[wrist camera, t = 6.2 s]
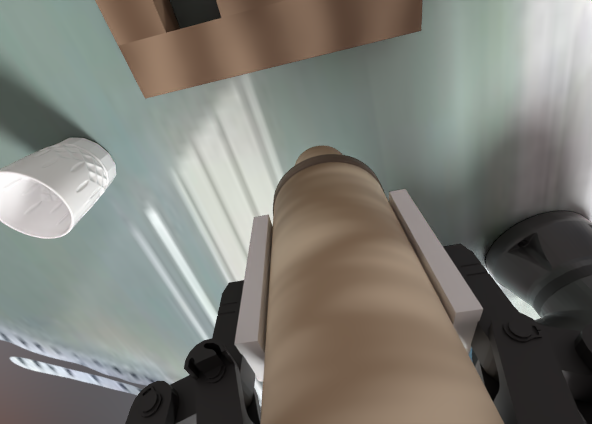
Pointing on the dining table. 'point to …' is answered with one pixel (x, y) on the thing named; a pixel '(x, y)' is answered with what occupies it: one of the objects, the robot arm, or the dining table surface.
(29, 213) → the white cup
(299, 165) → the beech peg
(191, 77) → the walnut board
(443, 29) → the dining table surface
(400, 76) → the dining table surface
